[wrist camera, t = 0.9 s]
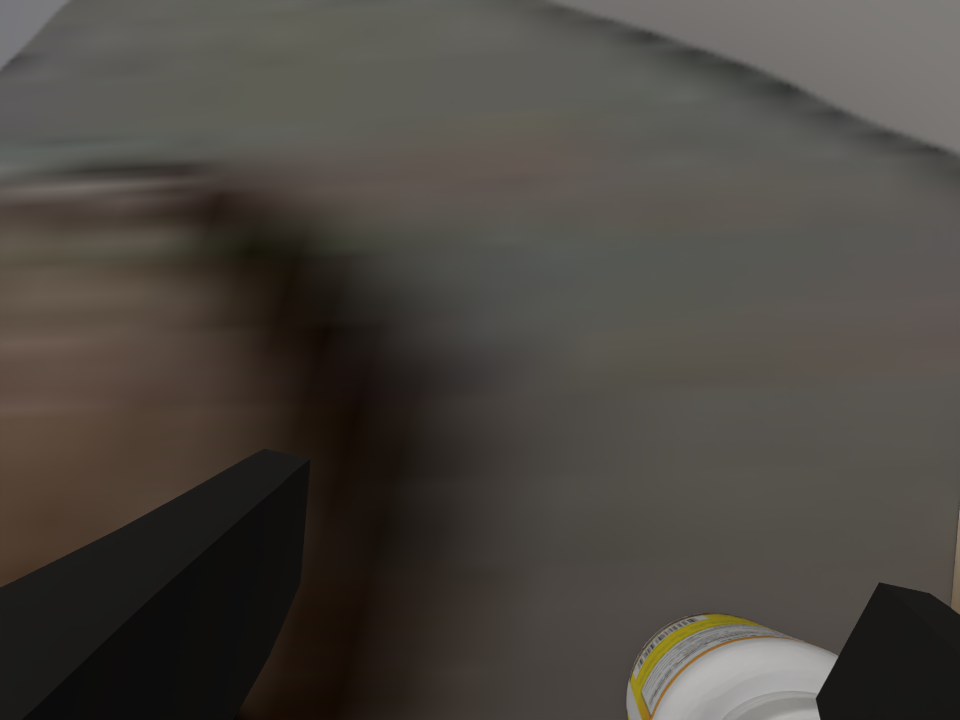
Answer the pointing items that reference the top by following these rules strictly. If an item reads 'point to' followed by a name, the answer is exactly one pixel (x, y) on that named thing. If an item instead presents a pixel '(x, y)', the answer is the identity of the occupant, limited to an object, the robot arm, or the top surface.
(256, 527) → the robot arm
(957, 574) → the wooden tray
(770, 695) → the supplement bottle
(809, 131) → the top surface
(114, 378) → the top surface
